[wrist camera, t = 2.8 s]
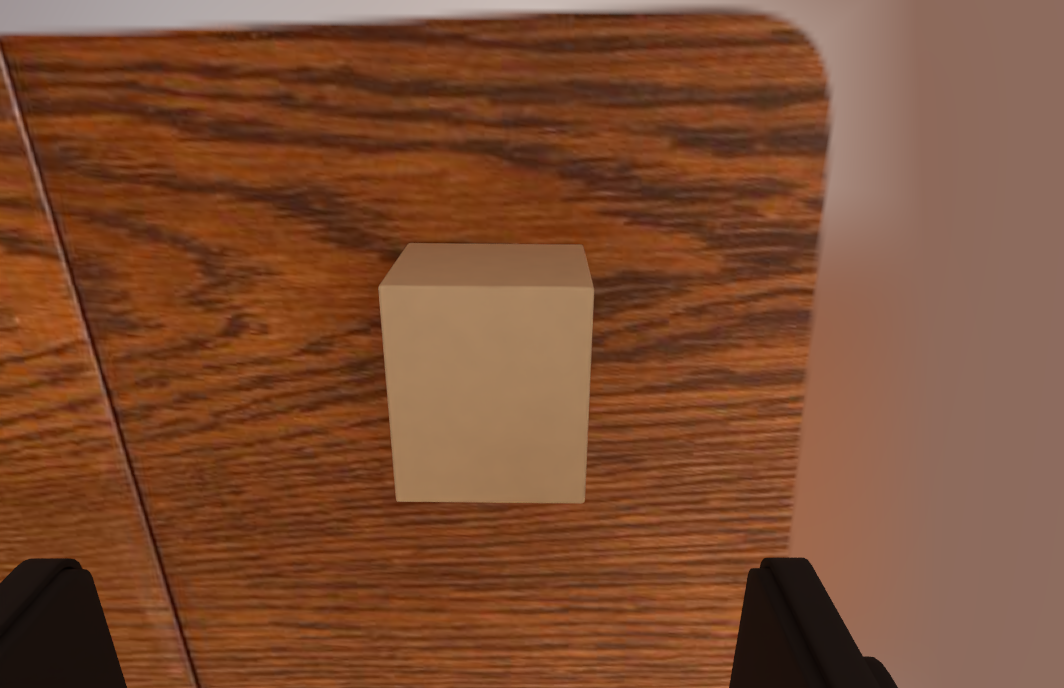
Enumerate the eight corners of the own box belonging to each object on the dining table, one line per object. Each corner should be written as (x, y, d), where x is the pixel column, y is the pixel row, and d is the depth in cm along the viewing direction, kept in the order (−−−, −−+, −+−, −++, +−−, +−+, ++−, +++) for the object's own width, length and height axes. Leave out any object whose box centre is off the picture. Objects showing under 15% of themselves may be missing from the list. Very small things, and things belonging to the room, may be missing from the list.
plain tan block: (583, 243, 19) (594, 287, 16) (577, 428, 22) (585, 504, 18) (407, 242, 19) (377, 285, 16) (419, 427, 22) (395, 502, 18)
